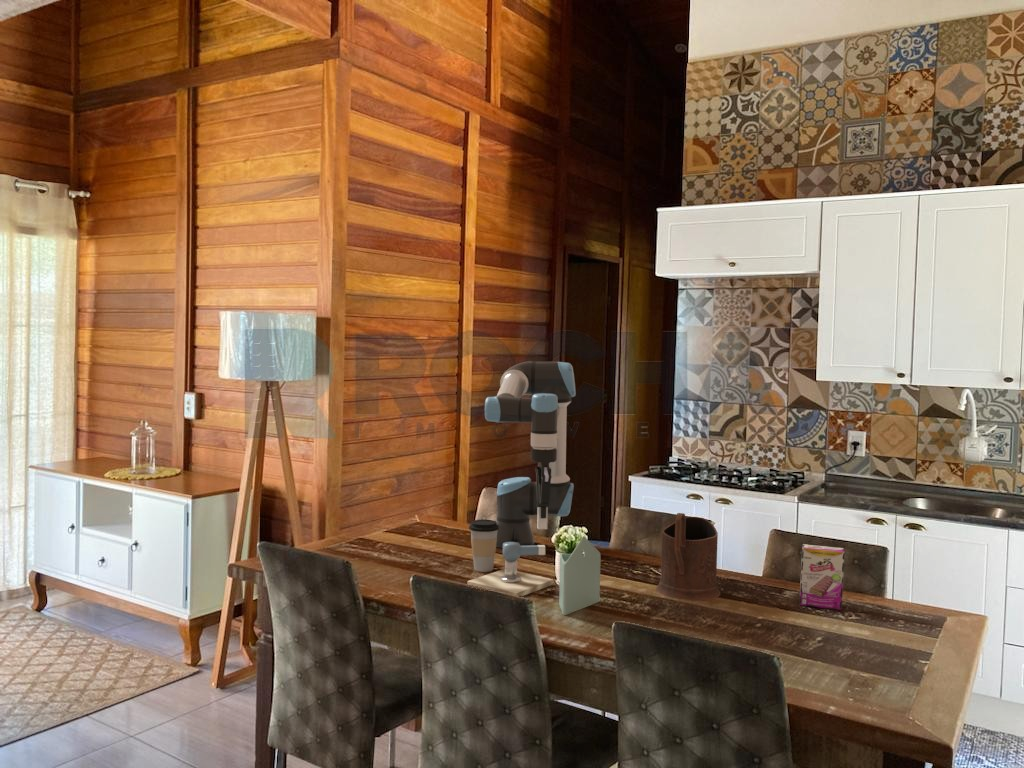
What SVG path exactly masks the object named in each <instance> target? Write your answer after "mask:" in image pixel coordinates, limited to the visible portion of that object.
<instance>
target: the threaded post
mask: <svg viewBox="0 0 1024 768" xmlns="http://www.w3.org/2000/svg"><path fill="white" fill-rule="evenodd" d="M504 569H505V575H503V576H501V577H500V580H501V581H502V582H505V583H518V582H520V581H521V577H520V576H517V571H518V559H514V560H509V559H504Z"/></svg>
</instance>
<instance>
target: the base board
mask: <svg viewBox="0 0 1024 768" xmlns="http://www.w3.org/2000/svg"><path fill="white" fill-rule="evenodd" d="M503 575H505V568H504V569H500V570H497V571H494V572H491V573H488V574H485V575H481V576H479V577H475V578H472V579H469V580H467V582H466V583H467V584H468V585H473V586H478V587H482V588H486V589H492V590H497V591H502V592H506V593H510V594H513V595H518V596H521V597H525V596H526V595H528V594H529V595H530V594H532V593H535V592H537V591H540V590H543V589H545V588H548V587H550V586H553V585H554V579H552V578H549V577H544V576H540V575H536V574H531V573H526V572H522V571H518V570H517V576H520V577H521V581H520V582H518V583H505V582H502V581H501V580H500V577H501V576H503Z"/></svg>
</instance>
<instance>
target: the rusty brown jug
mask: <svg viewBox="0 0 1024 768" xmlns="http://www.w3.org/2000/svg"><path fill="white" fill-rule="evenodd" d="M674 519H675V521H674V522H673V523H670V524H669V525H668V526H666V527H665V528H663V529H662V531H661V557H660V559H661V561H660V579H659V583H658V584H657V586H656V587H655V590H656V592H657V593H658V594H659V595H663V596H664V597H668V598H671V599H677V600H681V601H682V600H683V601H694V602H695V601H708V600H714V599H717V598H719V597H720V596H721V594H722V593H721V591H720V589H719V588H718V587H719V586H718V582H717V571H718V569H717V566H718V565H717V564H718V563H717V562H718V538H719V537H718V535H719V533H718V531H717V529H716V527H715V526H714V524H713V523H712V522H711V521H710V520H708V519H706V518H704V517H698V516H686V514H685V513H683V512H682V513H681V512H678V513H677V514H676V517H675V518H674Z"/></svg>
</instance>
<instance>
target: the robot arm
mask: <svg viewBox="0 0 1024 768" xmlns="http://www.w3.org/2000/svg"><path fill="white" fill-rule="evenodd" d="M499 387H500V388H499V390H498V392H497V394H496V395H494V396H487V397H486V398H485V401H484V419H485V420H486V421H487V422H495V423H521V424H522V423H526V424H527V423H529V424H531V425H530V426H531V427H530V428H531V430H530V446H531V449H530V461H532V462H534V463H537V466H536V467H535V476H536V477H535V480H536V481H535V482H534V481H532V479H531V478H530V477H528V476H516V477H510V478H509V477H508V478H506V479H501V481H499V482H498V484H497V487H496V488H497V490H496V491H497V492H496V522H497V525H498V526H499V529H498V530H497V543H496V548H498V549H503V543H505V542H517V543H519V544H520V546H529V545H535V537H534V533H533V530H532V527H531V519H530V518H531V516H534V517H535V516H536V517H537V520H536V521H537V524H536V525H537V526H536V527H537V530H548V519H549V518H548V517H555V518H558V517H568V516H569V514H570V512H571V506H572V503H573V502H572V500H573V494H574V487H575V486H574V485H575V484H574V483H573V482H571V481H570V480H571V478H570V476H569V475H568V474H566V473H567V472H566V471H567V470H566V469H567V467H566V465H567V462H566V461H567V419H568V418H567V417H568V416H567V414H568V411H567V410H568V409H567V407H568V406H569V405H570V404H571V403H572V398H574V397H576V395H577V394H576V393H577V392H576V382H575V373H574V367H573V365H572V364H571V363H570V362H564V361H530V360H528V361H524V362H520V363H517V364H515V365H513V366H511V367H509V368H507V370H505V371H504V372H503V374H502V376H501V378H500V379H499ZM522 396H531V397H522Z"/></svg>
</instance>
